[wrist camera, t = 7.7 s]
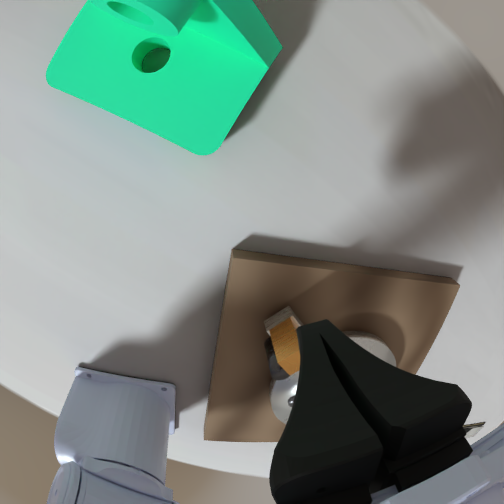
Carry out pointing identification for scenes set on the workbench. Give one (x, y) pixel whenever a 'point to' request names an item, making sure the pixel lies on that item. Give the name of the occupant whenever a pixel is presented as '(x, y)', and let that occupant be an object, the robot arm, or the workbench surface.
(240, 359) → the fixture board
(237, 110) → the camera mount
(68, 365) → the workbench surface
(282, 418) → the flange plate
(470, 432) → the computer memory module
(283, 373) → the dowel pin
